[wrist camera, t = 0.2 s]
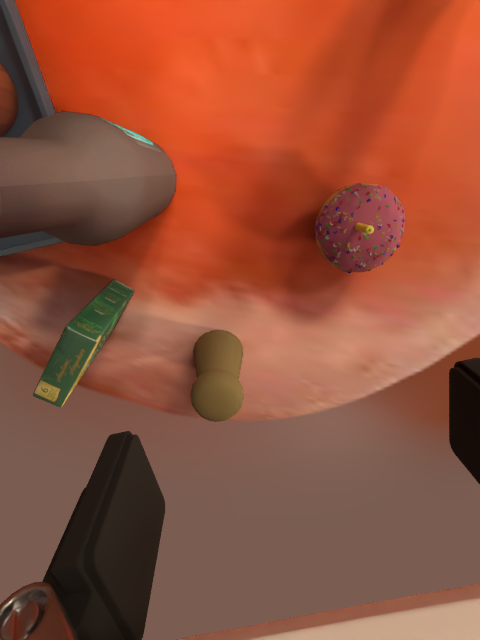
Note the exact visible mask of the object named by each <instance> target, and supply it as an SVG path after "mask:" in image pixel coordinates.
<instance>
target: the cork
mask: <svg viewBox="0 0 480 640" xmlns="http://www.w3.org/2000/svg"><path fill="white" fill-rule="evenodd" d="M242 357H243V347H242V345H241V343H240V340H239V339H238V338H237V337H236V336H235V335H233V334H231V333H230V332H228V331H223V330H213V331H210V332H207V333H205V334H204V335H202V336H201V337H200V338H199V339H198V341H197V342H196V344H195V348H194V358H195V367H196V376H197V379H196V381H195V382H194V384H193V386H192V390H191V395H190V396H191V402H192V406H193V407H194V409H195V411H196V412H197V413H198V414H199V415H200V416H201V417H203V418H205V419H207V420H209V421H215V422H216V421H224V420H227V419H229V418H231V417H232V416H233V415H235V414H236V413H237V412H238V410H239V409H240V408H241V405H242V401H243V388H242V386H241V383H240V381H239V374H240V368H241V363H242Z"/></svg>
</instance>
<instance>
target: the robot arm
mask: <svg viewBox="0 0 480 640" xmlns="http://www.w3.org/2000/svg"><path fill="white" fill-rule="evenodd" d="M449 431H450V432H449V434H450V435H449V437H450V438H449V440H450V445H451V448H452V450H453V452H454V453H455V455H456V456H457V457H458V458H459V460H460V461H461V462H462V463H463V464H464V466H465V467H466V468H467V469H468V470H469V472H470V473H471V474H472V476H473V477H474V478H475V479H476V480H477V482H478V483H479V484H480V358H473V359H469V360H464V361H459V362H456V363H455V365H454V368H451V369H450V373H449ZM164 514H165V501H164V497H163V495H162V493H161V490H160V488H159V485H158V483H157V480H156V478H155V475H154V473H153V471H152V468H151V466H150V463H149V461H148V458H147V456H146V454H145V451H144V449H143V446H142V444H141V442H140V439H139V437H138V436H137V435H132V433H131V432H130V431H126V432H121V433H117V434H112V435H110V436H109V437H108V439H107V441H106V443H105V446H104V448H103V450H102V452H101V455H100V457H99V459H98V462H97V464H96V466H95V468H94V471H93V473H92V475H91V478H90V480H89V482H88V484H87V487H86V488H85V489H84V490H83V492H82V493H81V496H80V498H79V500H78V503H77V505H76V507H75V509H74V511H73V514H72V516H71V519H70V520H69V523H68V525H67V528H66V530H65V532H64V534H63V536H62V539H61V541H60V543H59V545H58V548H57V550H56V552H55V554H54V557H53V559H52V561H51V564H50V566H49V568H48V570H47V572H46V575H45V577H44V579H43V582H35V583H31V584H29V585H26V586H24V587H22V588H20V589H19V590H17V591H16V592H14V593H13V594H11V596H9V597H8V598H7V599H6V600H5V601H4V602H3V603H2V604H1V605H0V640H142V637H143V634H144V628H145V622H146V617H147V611H148V605H149V599H150V594H151V588H152V582H153V577H154V571H155V565H156V560H157V554H158V548H159V542H160V537H161V531H162V525H163V520H164ZM177 640H480V584H477V585H471V586H466V587H460V588H454V589H448V590H443V591H437V592H432V593H426V594H420V595H415V596H409V597H403V598H398V599H393V600H387V601H381V602H376V603H370V604H365V605H359V606H354V607H348V608H343V609H337V610H332V611H327V612H321V613H315V614H310V615H304V616H299V617H293V618H288V619H283V620H277V621H272V622H267V623H261V624H256V625H251V626H245V627H241V628H235V629H230V630H225V631H219V632H213V633H208V634H203V635H198V636H192V637H187V638H182V639H177Z"/></svg>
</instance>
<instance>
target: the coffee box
mask: <svg viewBox="0 0 480 640" xmlns="http://www.w3.org/2000/svg"><path fill="white" fill-rule="evenodd" d="M133 293H134V290H133V289H131V288H129V287H128V286H126V285H124V284H122V283H121V282H119V281H116V280H112V281H111V282H110V284H109V285H107V286H106V287H105V288H104V289H103V290H102V291H101V292H100V293H99V294H98V295H97V296H96V297H95V298H94V299H93V300H92V301H91V302H90V303H89V304H88V305H87V306H86V307H85V308H84V309H83V310H82V311H81V312H80V313H79V314H78V315H77V316H76V317H75V318H74V319H73V320H72V321H71V322H70V323H69V324H68V325H67V326H66V327H65V329H64V331H63V333H62V335H61V337H60V339H59V341H58V343H57V345H56V347H55V350H54V352H53V354H52V356H51V358H50V360H49V362H48V364H47V366H46V368H45V370H44V372H43V374H42V376H41V378H40V380H39V383H38V385H37V387H36V389H35V391H34V393H33V396H34V397H36V398H39V399H42V400H45V401H47V402H49V403H51V404H53V405H56V406H58V407H62V406H63V405H64V403H65V402H66V400H67V399H68V397H69V395H70V394H71V392H72V391H73V390H74V388H75V387H76V385H77V384H78V382H79V381H80V379H81V378H82V376H83V375H84V373H85V372H86V370H87V369H88V367H89V366H90V364H91V363H92V361H93V360H94V358H95V357H96V355H97V354H98V352H99V351H100V350H101V348H102V346H103V345H104V344H105V342H106V340H107V339H108V337H109V335H110V334H111V332H112V330H113V329H114V328H115V325H116V324H117V322H118V320H119V318H120V317H121V315H122V313H123V311H124V309H125V308H126V306H127V304H128V302H129V300H130V299H131V297H132V295H133Z"/></svg>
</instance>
